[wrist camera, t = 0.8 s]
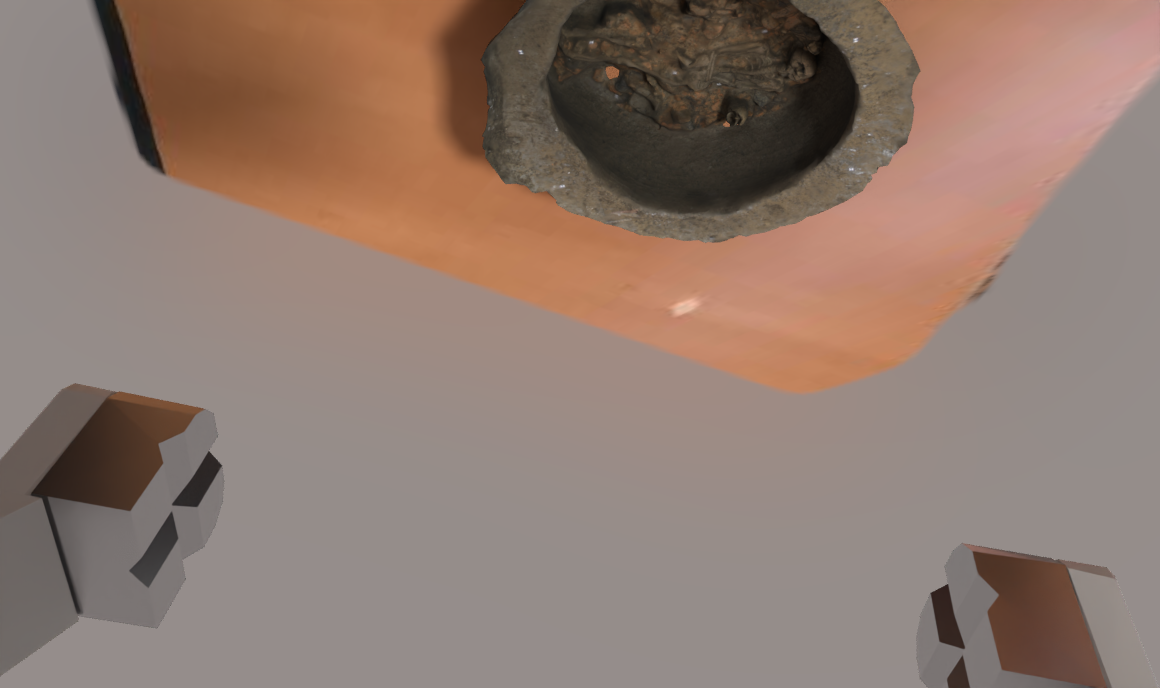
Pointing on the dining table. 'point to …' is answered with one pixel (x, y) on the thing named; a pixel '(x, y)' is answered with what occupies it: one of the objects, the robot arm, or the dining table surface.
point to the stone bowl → (697, 109)
